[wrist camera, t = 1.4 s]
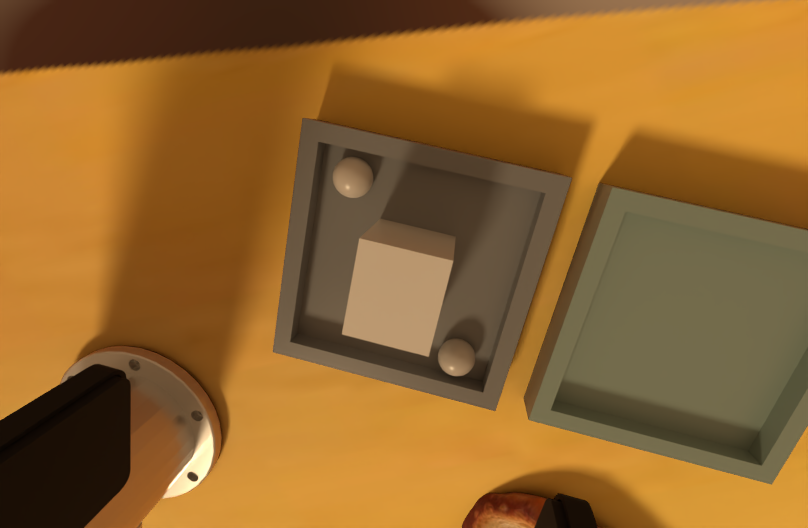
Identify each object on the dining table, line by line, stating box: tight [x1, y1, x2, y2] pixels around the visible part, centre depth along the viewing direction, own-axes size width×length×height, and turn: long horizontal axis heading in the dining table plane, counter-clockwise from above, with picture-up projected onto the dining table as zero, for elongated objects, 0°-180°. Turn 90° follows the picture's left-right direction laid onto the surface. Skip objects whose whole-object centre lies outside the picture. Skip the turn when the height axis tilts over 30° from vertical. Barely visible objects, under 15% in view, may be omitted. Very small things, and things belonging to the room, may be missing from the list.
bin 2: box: [524, 183, 808, 484], centre depth 24 cm, size 14×14×2 cm
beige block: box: [342, 219, 456, 357], centre depth 22 cm, size 5×4×5 cm
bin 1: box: [273, 118, 572, 411], centre depth 24 cm, size 14×14×3 cm
